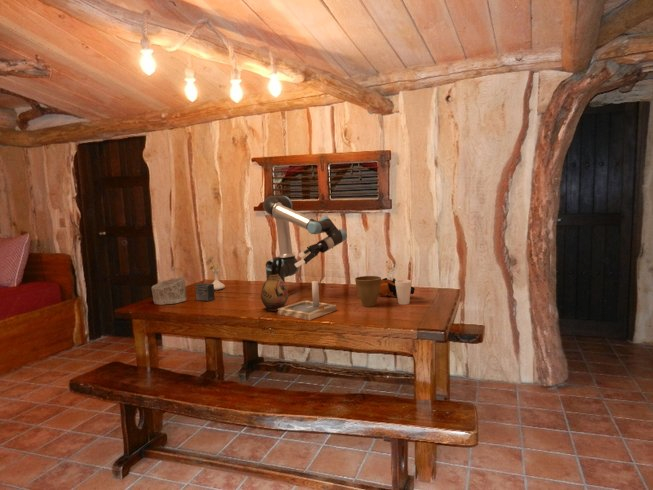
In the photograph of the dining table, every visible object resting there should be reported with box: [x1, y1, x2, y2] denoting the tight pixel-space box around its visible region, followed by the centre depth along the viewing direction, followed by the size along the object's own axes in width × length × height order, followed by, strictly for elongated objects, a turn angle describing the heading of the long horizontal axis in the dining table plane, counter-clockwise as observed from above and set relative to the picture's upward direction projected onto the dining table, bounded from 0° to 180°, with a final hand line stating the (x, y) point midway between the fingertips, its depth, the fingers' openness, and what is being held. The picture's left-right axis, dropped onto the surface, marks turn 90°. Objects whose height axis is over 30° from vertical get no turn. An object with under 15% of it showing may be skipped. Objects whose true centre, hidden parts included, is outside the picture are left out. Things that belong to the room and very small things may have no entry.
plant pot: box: [354, 275, 382, 308], centre depth 256 cm, size 15×15×16 cm
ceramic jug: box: [260, 256, 289, 312], centre depth 256 cm, size 17×15×30 cm
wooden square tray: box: [277, 299, 337, 321], centre depth 246 cm, size 23×23×5 cm
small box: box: [194, 282, 215, 303], centre depth 285 cm, size 11×6×10 cm, turn 65°
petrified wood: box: [150, 277, 187, 306], centre depth 283 cm, size 19×17×15 cm
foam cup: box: [395, 279, 413, 305], centre depth 258 cm, size 10×9×13 cm
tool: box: [378, 277, 416, 298], centre depth 273 cm, size 8×23×15 cm, turn 60°
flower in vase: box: [205, 255, 226, 291], centre depth 317 cm, size 13×11×25 cm
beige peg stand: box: [293, 280, 320, 313], centre depth 246 cm, size 16×16×16 cm
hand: (297, 261), depth 265 cm, fingers open, 13 cm apart
